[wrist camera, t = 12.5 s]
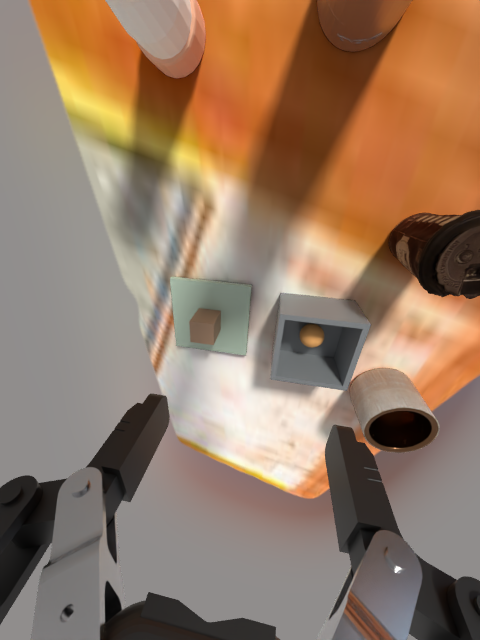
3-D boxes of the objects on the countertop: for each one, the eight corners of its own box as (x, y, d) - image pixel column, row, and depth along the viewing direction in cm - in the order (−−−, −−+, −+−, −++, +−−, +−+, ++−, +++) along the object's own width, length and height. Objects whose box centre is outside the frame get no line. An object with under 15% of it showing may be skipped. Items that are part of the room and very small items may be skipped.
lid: (173, 275, 42) (156, 288, 36) (252, 283, 40) (246, 298, 34) (179, 341, 48) (165, 361, 43) (246, 350, 47) (241, 372, 41)
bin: (280, 292, 40) (280, 313, 33) (355, 300, 38) (370, 324, 31) (272, 350, 45) (270, 379, 39) (336, 359, 44) (346, 390, 37)
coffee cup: (408, 279, 36) (467, 320, 24) (365, 249, 34) (405, 276, 23) (464, 227, 31) (566, 247, 20) (417, 190, 30) (496, 189, 19)
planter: (366, 358, 43) (386, 397, 35) (424, 377, 43) (458, 421, 35) (338, 398, 48) (350, 440, 40) (389, 414, 48) (411, 461, 40)
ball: (300, 318, 41) (302, 329, 37) (324, 320, 40) (328, 333, 37) (297, 337, 43) (298, 350, 39) (319, 340, 42) (323, 353, 39)
